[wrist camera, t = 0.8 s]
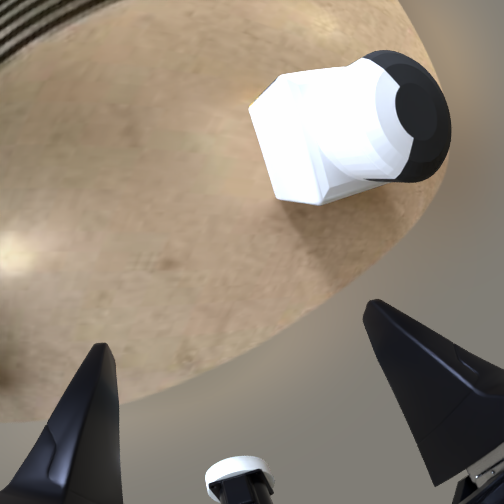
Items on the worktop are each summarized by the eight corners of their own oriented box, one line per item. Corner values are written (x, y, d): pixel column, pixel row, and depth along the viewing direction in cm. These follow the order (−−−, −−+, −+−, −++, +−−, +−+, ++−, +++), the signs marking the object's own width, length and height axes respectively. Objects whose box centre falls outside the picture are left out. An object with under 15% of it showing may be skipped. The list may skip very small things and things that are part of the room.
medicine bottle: (331, 89, 21) (440, 38, 10) (357, 175, 23) (478, 177, 12) (246, 106, 20) (318, 34, 9) (275, 201, 22) (373, 218, 11)
